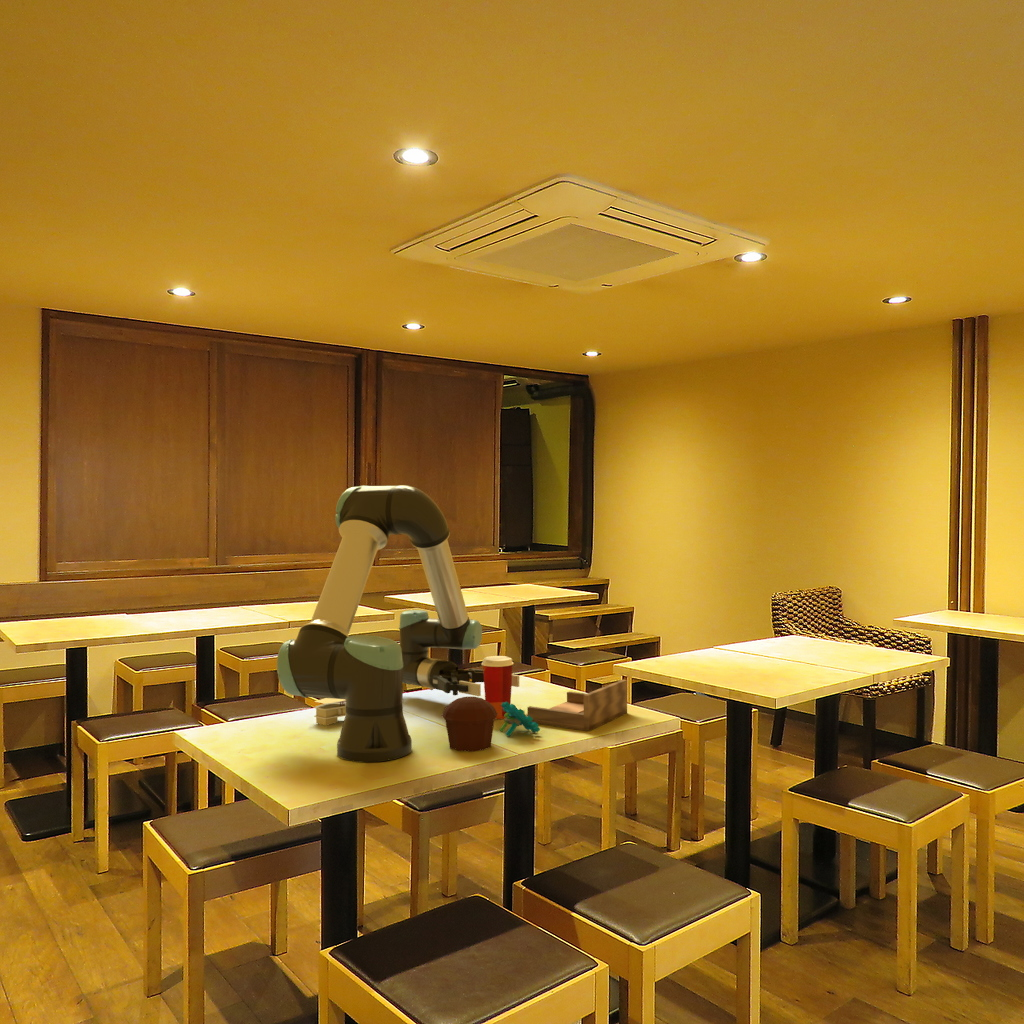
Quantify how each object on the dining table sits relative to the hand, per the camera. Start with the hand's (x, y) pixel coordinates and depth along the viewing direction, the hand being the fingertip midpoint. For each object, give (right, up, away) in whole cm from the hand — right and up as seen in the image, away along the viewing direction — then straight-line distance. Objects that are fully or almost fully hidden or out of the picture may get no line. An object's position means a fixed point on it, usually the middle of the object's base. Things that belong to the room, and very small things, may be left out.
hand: (499, 685), depth 205 cm
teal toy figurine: (+5, -8, -16) cm, 18 cm away
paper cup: (0, -8, 0) cm, 8 cm away
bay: (+19, -7, -2) cm, 20 cm away
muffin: (-6, -8, -25) cm, 27 cm away
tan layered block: (-39, -8, -4) cm, 40 cm away
